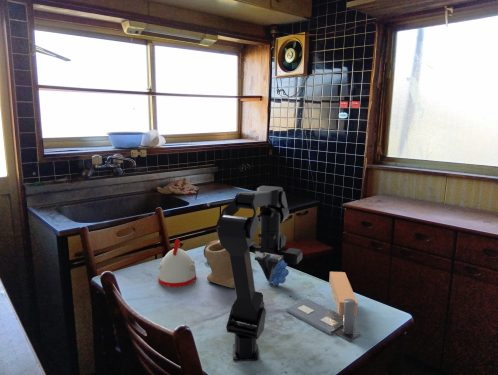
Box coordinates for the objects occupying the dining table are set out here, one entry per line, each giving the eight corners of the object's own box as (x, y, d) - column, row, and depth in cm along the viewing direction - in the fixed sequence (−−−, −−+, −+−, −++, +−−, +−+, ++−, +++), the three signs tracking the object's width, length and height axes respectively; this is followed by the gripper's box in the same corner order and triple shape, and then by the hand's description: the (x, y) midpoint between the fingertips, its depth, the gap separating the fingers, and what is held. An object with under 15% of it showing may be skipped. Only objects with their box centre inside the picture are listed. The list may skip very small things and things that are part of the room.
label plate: (350, 322, 113) (351, 318, 113) (330, 335, 107) (330, 331, 107) (307, 301, 126) (307, 297, 126) (286, 311, 119) (286, 307, 119)
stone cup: (198, 283, 139) (197, 244, 136) (220, 272, 148) (220, 235, 145) (229, 295, 130) (229, 254, 127) (251, 283, 139) (251, 244, 136)
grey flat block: (360, 335, 107) (360, 333, 107) (350, 341, 104) (350, 339, 104) (345, 327, 111) (345, 325, 111) (335, 334, 108) (335, 332, 107)
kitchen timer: (198, 271, 149) (197, 235, 146) (192, 287, 135) (191, 247, 133) (163, 271, 149) (162, 234, 146) (154, 286, 136) (152, 247, 133)
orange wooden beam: (358, 334, 105) (360, 304, 104) (339, 333, 106) (341, 303, 104) (343, 294, 129) (345, 268, 127) (328, 293, 129) (330, 268, 127)
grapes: (295, 286, 136) (296, 255, 134) (282, 292, 132) (283, 260, 129) (271, 276, 145) (272, 246, 142) (259, 281, 140) (259, 251, 138)
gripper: (309, 226, 113) (306, 275, 116) (252, 218, 121) (251, 264, 124) (297, 236, 104) (295, 289, 106) (236, 227, 111) (236, 277, 114)
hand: (268, 279), depth 113 cm, fingers closed
